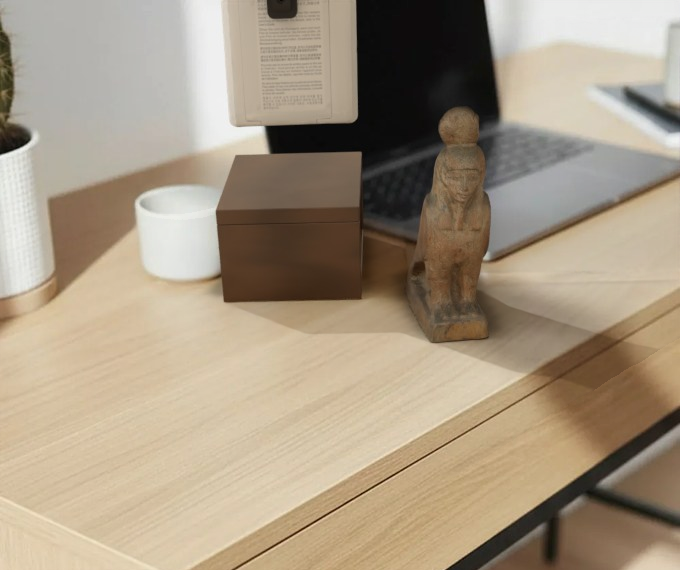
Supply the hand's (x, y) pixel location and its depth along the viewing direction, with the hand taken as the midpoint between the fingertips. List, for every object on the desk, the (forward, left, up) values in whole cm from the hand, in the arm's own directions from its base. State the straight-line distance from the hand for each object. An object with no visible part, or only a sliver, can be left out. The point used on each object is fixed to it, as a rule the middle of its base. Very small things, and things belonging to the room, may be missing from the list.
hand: (285, 10), depth 91 cm
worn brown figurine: (-12, +10, -21) cm, 26 cm away
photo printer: (0, 0, -9) cm, 9 cm away
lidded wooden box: (0, 0, -20) cm, 20 cm away
